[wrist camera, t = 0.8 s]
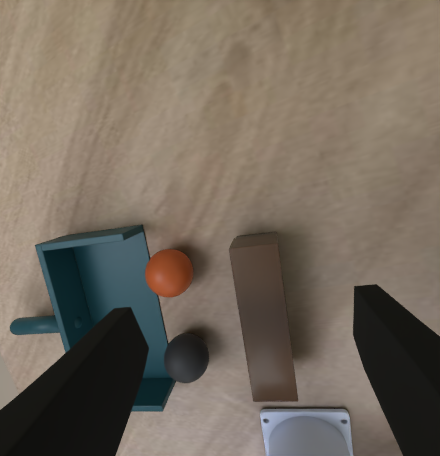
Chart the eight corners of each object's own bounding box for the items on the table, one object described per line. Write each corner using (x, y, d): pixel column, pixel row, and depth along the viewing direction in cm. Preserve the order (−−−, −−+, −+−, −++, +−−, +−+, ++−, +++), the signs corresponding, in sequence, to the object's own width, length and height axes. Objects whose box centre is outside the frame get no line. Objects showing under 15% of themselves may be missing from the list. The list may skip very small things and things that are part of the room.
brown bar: (293, 361, 25) (298, 401, 21) (255, 362, 26) (253, 401, 22) (276, 229, 23) (278, 242, 19) (236, 234, 24) (228, 248, 20)
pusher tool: (142, 224, 25) (122, 233, 22) (175, 381, 28) (162, 411, 25) (6, 243, 28) (-31, 253, 25) (48, 384, 31) (21, 411, 27)
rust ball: (201, 283, 25) (189, 304, 22) (160, 287, 26) (142, 307, 22) (194, 241, 25) (180, 254, 21) (152, 246, 26) (131, 260, 22)
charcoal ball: (216, 361, 27) (207, 393, 23) (176, 363, 28) (161, 394, 24) (209, 323, 26) (198, 350, 22) (169, 326, 27) (152, 352, 23)
